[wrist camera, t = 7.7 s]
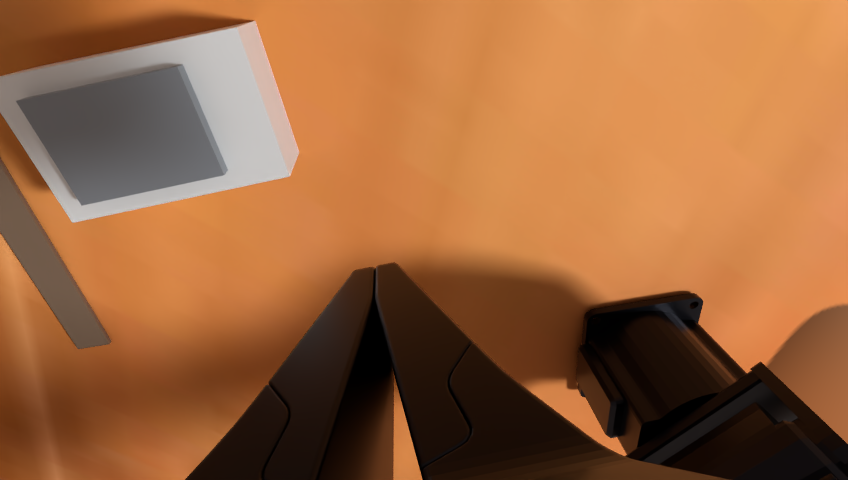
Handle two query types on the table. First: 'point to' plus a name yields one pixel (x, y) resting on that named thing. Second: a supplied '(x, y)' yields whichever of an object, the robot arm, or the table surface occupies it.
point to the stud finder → (153, 122)
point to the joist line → (46, 266)
